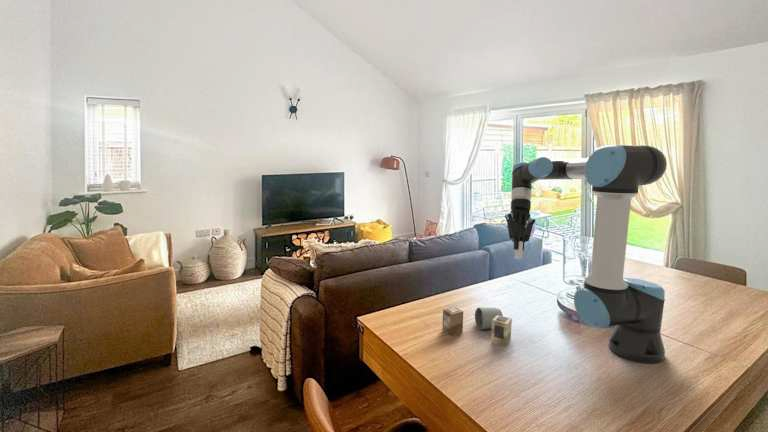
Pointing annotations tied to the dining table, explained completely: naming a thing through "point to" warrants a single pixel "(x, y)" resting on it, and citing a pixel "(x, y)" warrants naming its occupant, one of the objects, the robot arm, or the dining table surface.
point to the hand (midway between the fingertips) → (518, 258)
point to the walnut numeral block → (452, 321)
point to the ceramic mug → (486, 317)
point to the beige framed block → (501, 330)
